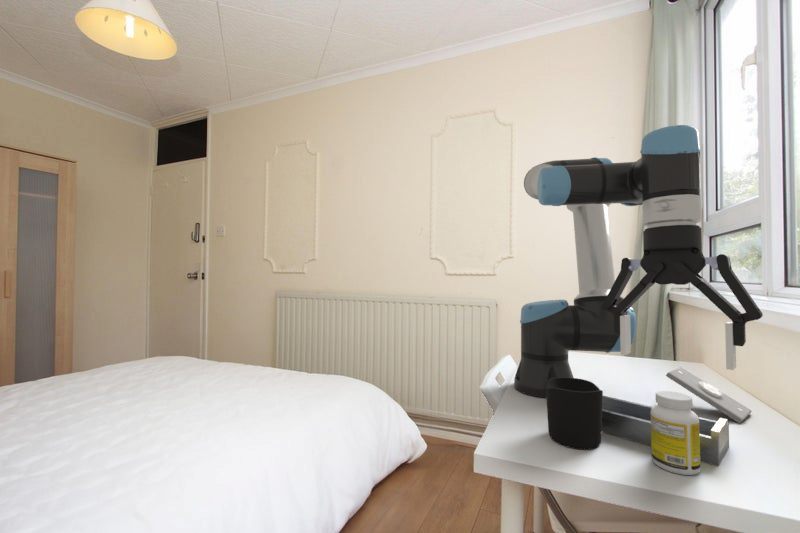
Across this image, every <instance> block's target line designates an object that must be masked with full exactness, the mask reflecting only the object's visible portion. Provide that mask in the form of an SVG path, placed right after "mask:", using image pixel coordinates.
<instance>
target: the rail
mask: <svg viewBox="0 0 800 533" xmlns="http://www.w3.org/2000/svg"><path fill="white" fill-rule="evenodd" d="M652 407H653V406H651V405H647V404H642V403H638V402H634V401H630V400H624V399H622V398H621V399H619V398H616V397H612V396H606V395H603V399H602V429H601V433H605V434H608V435H612V436H614V437H619V438H622V439H625V440H628V441H632V442H635V443H639V444H643V445H645V446H650V447H651V409H652ZM698 418H699V434H700V462H702V463H707V464H710V465H713V466H716V467H719V466H720V465H721V463H722V461H723V459H724V457H725V456H726V454H727V452H728V450H729V448H730V431H729V430H730V426H729V424H730V423H728V418H723V417H719V418H718V420H714V419H710V418H705V417H701V416H698Z"/></svg>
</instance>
